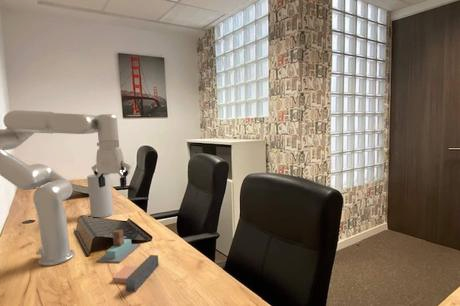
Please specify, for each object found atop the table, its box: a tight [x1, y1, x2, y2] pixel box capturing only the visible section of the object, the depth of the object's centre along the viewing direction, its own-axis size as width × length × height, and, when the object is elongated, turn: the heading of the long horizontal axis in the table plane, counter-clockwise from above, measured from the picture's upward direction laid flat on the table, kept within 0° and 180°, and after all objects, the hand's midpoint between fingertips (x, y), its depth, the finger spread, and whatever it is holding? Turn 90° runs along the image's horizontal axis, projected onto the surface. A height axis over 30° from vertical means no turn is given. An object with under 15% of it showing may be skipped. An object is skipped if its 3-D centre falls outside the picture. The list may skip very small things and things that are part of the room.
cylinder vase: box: [86, 173, 114, 219], centre depth 173 cm, size 12×12×25 cm
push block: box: [105, 229, 132, 259], centre depth 119 cm, size 4×12×9 cm, turn 169°
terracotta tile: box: [112, 265, 139, 284], centre depth 100 cm, size 8×8×2 cm
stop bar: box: [125, 254, 160, 293], centre depth 98 cm, size 3×17×4 cm, turn 169°
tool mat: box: [96, 243, 141, 264], centre depth 119 cm, size 10×16×1 cm, turn 169°
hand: (112, 186), depth 117 cm, fingers open, 9 cm apart
